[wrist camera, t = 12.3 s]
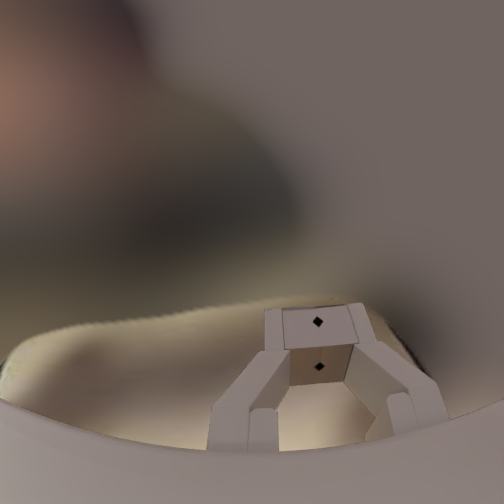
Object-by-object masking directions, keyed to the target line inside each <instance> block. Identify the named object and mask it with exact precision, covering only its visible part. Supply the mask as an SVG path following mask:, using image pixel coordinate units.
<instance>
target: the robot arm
mask: <svg viewBox="0 0 504 504" xmlns="http://www.w3.org/2000/svg"><path fill="white" fill-rule="evenodd" d="M342 381H344V384H345V385H346V386H347V387H348V388H349V389H350V390H351V391H352V392H353V394H354V395H355V396H356V397H357V398H358V399H359V400H360V401H361V402H362V404H363V405H364V406H365V407H366V408H367V409H368V410H369V411H370V412H371V413H372V415H373V416H374V417H375V420H374V421H373V423H372V425H371V426H370V428H369V429H368V431H367V433H366V434H365V441H366V442H362V443H356V444H350V445H343V446H336V447H328V448H319V449H309V450H296V451H279V437H278V412H277V411H275V410H276V409H277V407H278V406H279V404H280V402H281V401H282V399H283V397H284V396H285V394H286V392H287V391H288V389H289V386H297V385H307V384H316V383H330V382H342ZM0 504H504V399H501V400H499V401H497V402H495V403H493V404H490V405H488V406H486V407H483V408H481V409H478V410H476V411H473V412H471V413H468V414H466V415H463V416H460V417H457V418H454V419H452V420H450V418H449V415H448V412H447V409H446V406H445V403H444V400H443V398H442V395H441V392H440V390H439V387H438V385H437V383H436V382H435V381H434V380H432V379H431V378H430V377H428V376H427V375H426V374H424V373H423V372H422V371H421V370H419V369H418V368H417V367H415V366H414V365H413V364H411V363H410V362H409V361H407V360H406V359H405V358H404V357H402V356H401V355H400V354H398V353H397V352H396V351H394V350H393V349H392V348H390V347H389V346H388V345H386V344H385V343H384V342H383V341H377V340H376V337H375V334H374V331H373V329H372V326H371V323H370V320H369V318H368V315H367V312H366V310H365V307H364V304H363V303H361V302H360V303H350V304H346V305H345V304H341V305H330V306H318V307H300V308H282V309H265V310H264V351H259V352H258V353H257V354H256V355H255V357H254V358H253V359H252V360H251V362H250V363H249V364H248V365H247V366H246V368H245V369H244V370H243V371H242V372H241V373H240V375H239V376H238V377H237V378H236V379H235V381H234V382H233V383H232V384H231V385H230V386H229V388H228V389H227V390H226V391H225V392H224V393H223V394H222V396H221V397H220V398H219V399H218V400H217V401H216V402H215V404H214V405H213V406H212V409H211V417H210V425H209V432H208V440H207V449H206V450H195V449H185V448H176V447H168V446H161V445H154V444H148V443H142V442H137V441H132V440H127V439H122V438H117V437H113V436H108V435H104V434H100V433H96V432H92V431H89V430H85V429H81V428H78V427H75V426H71V425H68V424H65V423H62V422H59V421H56V420H53V419H50V418H47V417H44V416H42V415H39V414H36V413H34V412H31V411H29V410H26V409H24V408H21V407H19V406H17V405H14V404H12V403H10V402H7V401H5V400H3V399H1V398H0Z"/></svg>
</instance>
